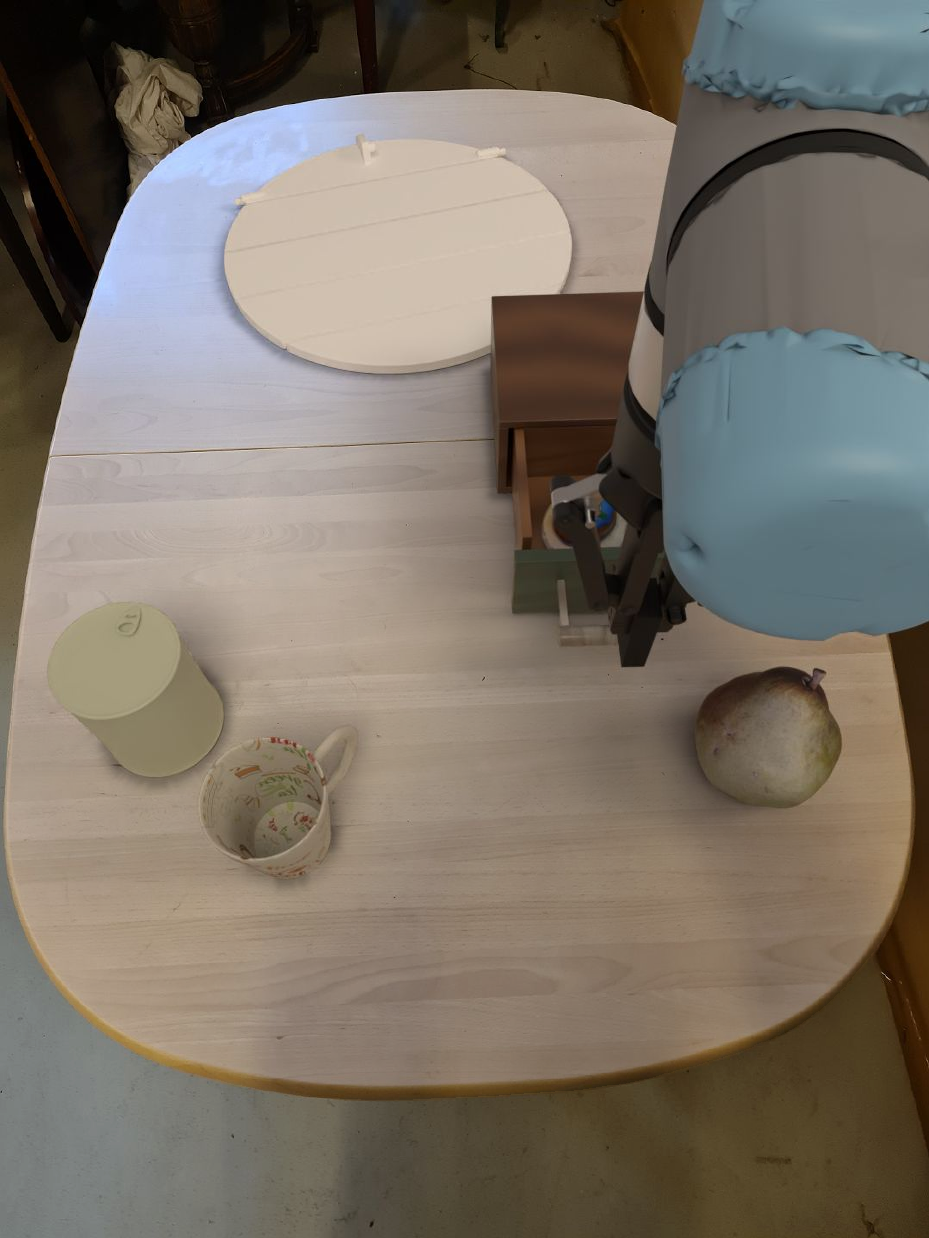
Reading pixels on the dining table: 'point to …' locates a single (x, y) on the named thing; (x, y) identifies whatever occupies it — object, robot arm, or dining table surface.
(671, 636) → the dining table surface
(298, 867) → the mug
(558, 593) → the drawer
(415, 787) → the dining table surface
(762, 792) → the fruit
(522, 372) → the cabinet
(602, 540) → the dessert
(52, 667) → the can
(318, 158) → the lazy susan
